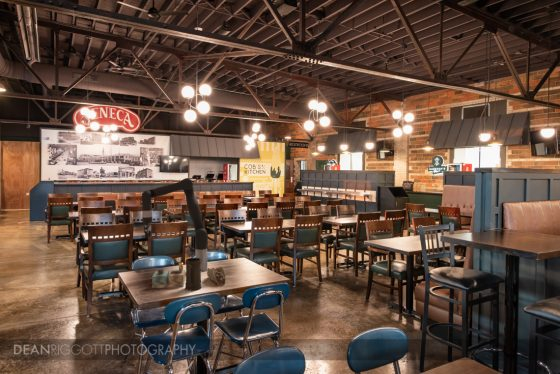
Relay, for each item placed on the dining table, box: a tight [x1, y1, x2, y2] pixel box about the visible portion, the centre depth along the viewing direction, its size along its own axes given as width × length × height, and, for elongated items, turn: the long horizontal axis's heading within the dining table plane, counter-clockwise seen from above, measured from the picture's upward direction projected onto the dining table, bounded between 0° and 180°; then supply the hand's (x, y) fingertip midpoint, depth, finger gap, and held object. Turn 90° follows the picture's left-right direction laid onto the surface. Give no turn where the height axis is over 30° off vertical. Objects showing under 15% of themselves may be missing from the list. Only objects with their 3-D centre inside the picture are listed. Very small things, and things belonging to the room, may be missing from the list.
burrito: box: [206, 266, 227, 287], centre depth 264 cm, size 10×27×10 cm, turn 28°
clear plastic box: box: [151, 267, 186, 289], centre depth 255 cm, size 20×14×11 cm
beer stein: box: [184, 257, 202, 292], centre depth 244 cm, size 15×11×20 cm
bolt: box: [169, 262, 184, 274], centre depth 256 cm, size 8×3×7 cm, turn 99°
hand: (147, 237), depth 285 cm, fingers open, 8 cm apart
